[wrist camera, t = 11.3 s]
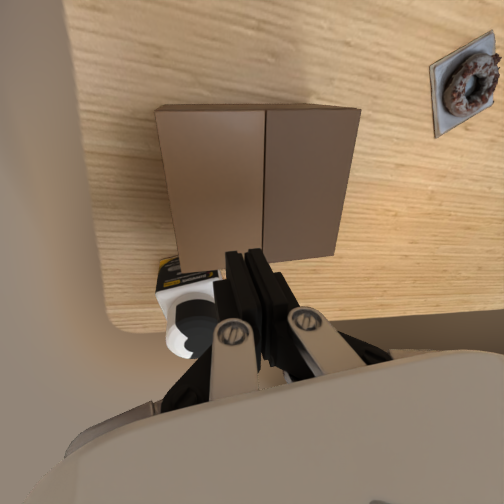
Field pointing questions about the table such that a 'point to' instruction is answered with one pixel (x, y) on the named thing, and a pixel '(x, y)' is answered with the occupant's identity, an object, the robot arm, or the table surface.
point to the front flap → (213, 182)
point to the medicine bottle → (187, 307)
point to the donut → (464, 83)
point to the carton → (300, 174)
